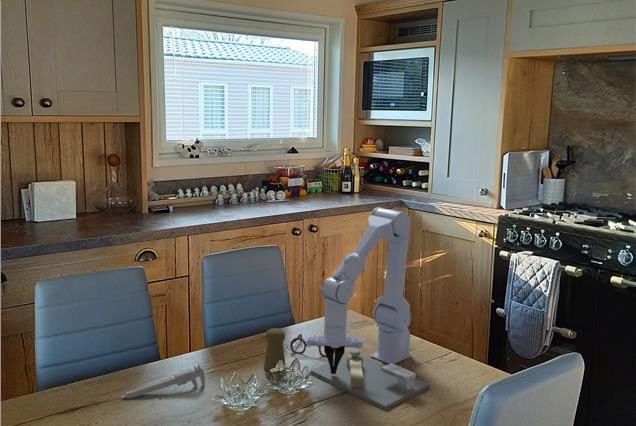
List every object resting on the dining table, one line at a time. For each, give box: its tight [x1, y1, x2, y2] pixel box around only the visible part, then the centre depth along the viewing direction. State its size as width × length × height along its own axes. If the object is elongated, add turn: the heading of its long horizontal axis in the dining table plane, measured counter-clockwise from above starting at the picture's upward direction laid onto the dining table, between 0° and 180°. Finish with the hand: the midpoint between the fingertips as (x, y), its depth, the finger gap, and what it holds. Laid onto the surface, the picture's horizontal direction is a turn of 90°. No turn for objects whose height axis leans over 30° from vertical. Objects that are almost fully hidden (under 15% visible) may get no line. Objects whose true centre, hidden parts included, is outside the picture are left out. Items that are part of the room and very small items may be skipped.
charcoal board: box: [310, 354, 431, 411], centre depth 161 cm, size 18×26×1 cm
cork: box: [263, 327, 286, 373], centre depth 166 cm, size 6×6×11 cm
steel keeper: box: [381, 363, 417, 393], centre depth 156 cm, size 8×4×4 cm, turn 44°
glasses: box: [290, 333, 335, 358], centre depth 182 cm, size 13×13×5 cm
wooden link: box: [347, 349, 363, 387], centre depth 162 cm, size 15×4×4 cm, turn 179°
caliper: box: [120, 363, 206, 400], centre depth 151 cm, size 20×1×6 cm, turn 113°
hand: (333, 372), depth 161 cm, fingers closed
